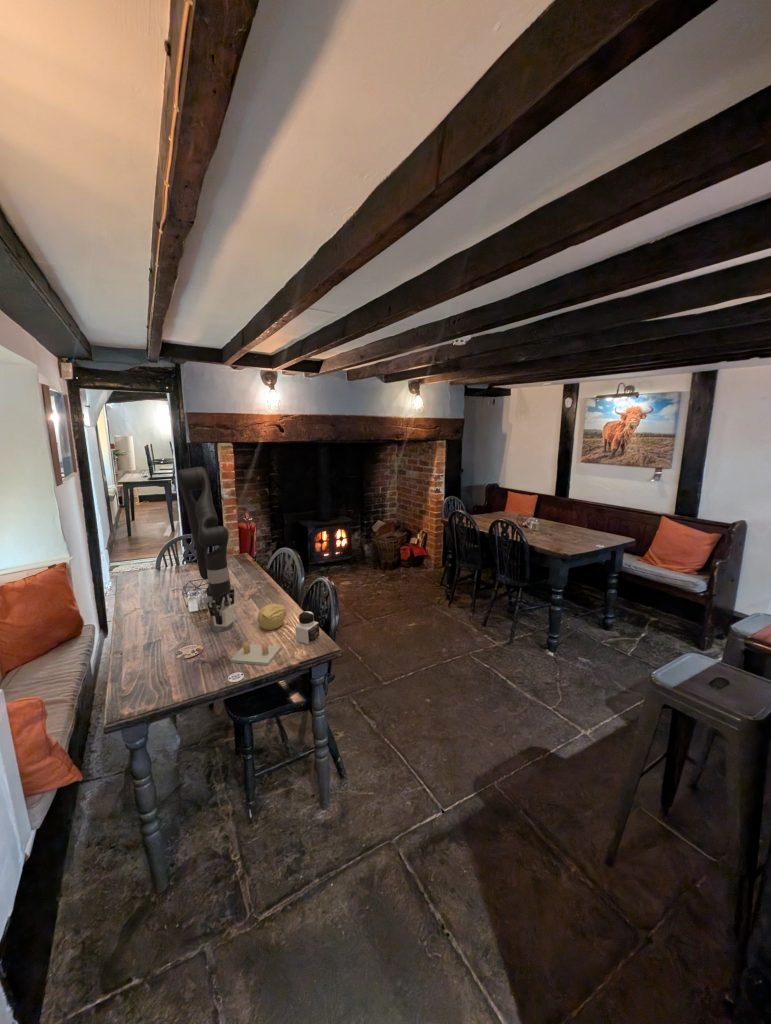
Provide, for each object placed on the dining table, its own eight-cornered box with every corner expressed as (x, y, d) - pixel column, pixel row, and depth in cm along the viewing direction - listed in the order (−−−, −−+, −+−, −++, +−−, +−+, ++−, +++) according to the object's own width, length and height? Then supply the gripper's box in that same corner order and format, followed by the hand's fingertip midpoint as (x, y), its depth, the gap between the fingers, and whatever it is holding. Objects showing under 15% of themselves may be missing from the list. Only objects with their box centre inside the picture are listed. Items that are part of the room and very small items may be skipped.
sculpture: (270, 635, 183) (268, 612, 180) (254, 628, 190) (251, 606, 188) (290, 624, 192) (288, 603, 189) (274, 618, 199) (272, 597, 196)
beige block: (222, 619, 163) (220, 604, 162) (234, 620, 162) (233, 605, 160) (214, 625, 158) (212, 610, 157) (226, 626, 156) (224, 611, 155)
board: (246, 646, 174) (244, 635, 173) (281, 649, 171) (280, 637, 170) (230, 662, 163) (228, 650, 162) (268, 665, 159) (266, 653, 158)
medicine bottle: (309, 645, 173) (307, 618, 171) (296, 641, 177) (293, 615, 174) (320, 637, 179) (317, 611, 177) (307, 633, 183) (304, 608, 180)
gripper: (221, 571, 164) (226, 611, 167) (197, 585, 150) (203, 628, 154) (238, 572, 162) (243, 613, 165) (216, 586, 148) (221, 630, 152)
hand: (224, 620), depth 159 cm, fingers closed on beige block, 5 cm apart
